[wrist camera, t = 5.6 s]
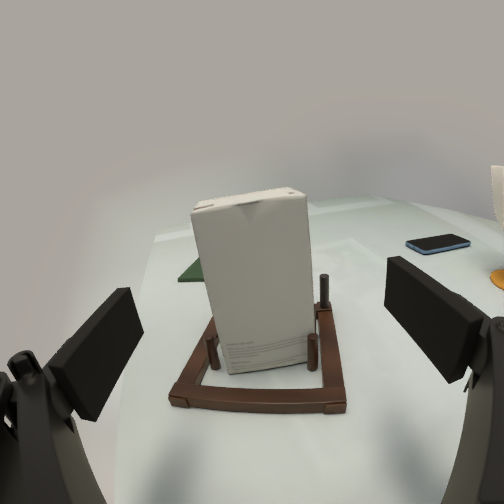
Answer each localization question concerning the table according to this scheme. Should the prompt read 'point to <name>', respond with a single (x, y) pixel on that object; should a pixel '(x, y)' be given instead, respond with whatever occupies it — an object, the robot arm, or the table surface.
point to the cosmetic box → (258, 276)
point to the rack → (268, 400)
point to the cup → (498, 213)
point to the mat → (192, 273)
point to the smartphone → (437, 243)
